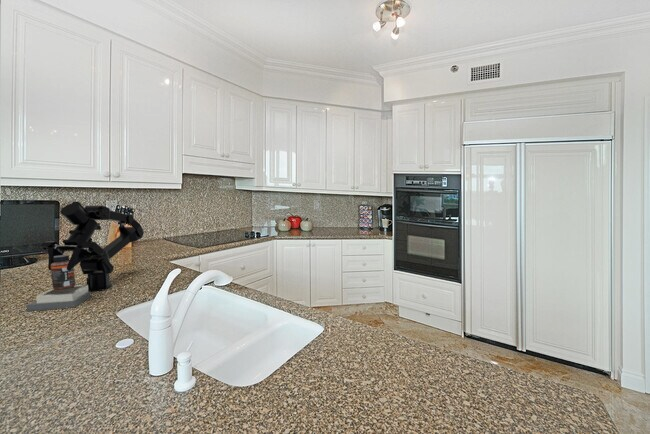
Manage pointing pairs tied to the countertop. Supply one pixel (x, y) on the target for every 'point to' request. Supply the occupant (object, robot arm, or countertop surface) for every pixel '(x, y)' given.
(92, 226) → the robot arm
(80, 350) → the countertop surface
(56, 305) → the plate
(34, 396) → the countertop surface
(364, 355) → the countertop surface
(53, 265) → the supplement bottle
